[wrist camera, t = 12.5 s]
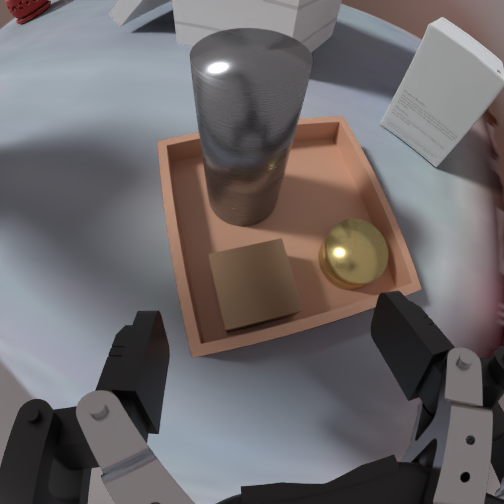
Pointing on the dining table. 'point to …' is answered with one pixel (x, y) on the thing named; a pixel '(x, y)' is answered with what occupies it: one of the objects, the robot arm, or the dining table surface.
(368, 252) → the brass disc
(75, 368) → the dining table surface
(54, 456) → the robot arm
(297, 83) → the disc
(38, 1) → the plant pot
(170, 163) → the tray
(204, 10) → the pizza boxes
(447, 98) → the supplement box
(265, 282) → the walnut block
